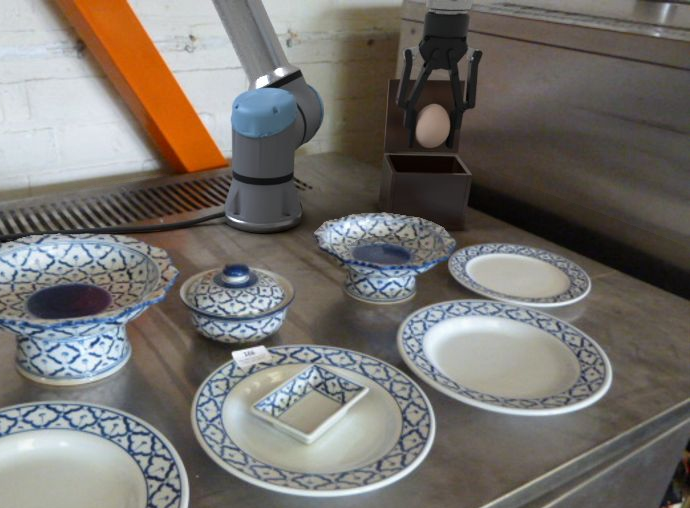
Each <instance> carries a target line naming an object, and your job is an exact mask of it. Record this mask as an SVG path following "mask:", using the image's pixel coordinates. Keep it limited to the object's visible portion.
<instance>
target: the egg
mask: <svg viewBox="0 0 690 508" xmlns="http://www.w3.org/2000/svg"><path fill="white" fill-rule="evenodd" d="M449 131H450V119H449V116H448V114H447V112H446V110H445V109H444V108H443V107H442V106H440V105H437V104H431V105H428V106H426V107H425V108H423V109H422V110H421V111H420V112H419V114H418V116H417V119H416V127H415V134H414V136H415V139H416V140H417V142H418V143H419V144H420V145H422V146H423V147H426V148H434V147H437V146H439V145H440V144H442V143H443V142H444V141H445V140H446V138H447V137H448V135H449Z"/></svg>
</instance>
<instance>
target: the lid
mask: <svg viewBox="0 0 690 508" xmlns="http://www.w3.org/2000/svg"><path fill="white" fill-rule="evenodd" d="M416 80H417V78H416V79H413V78H410V80H409V85H408V89H407V94H406V99H405V100H406V101H407V99H408V97H409V95H410V93H411V91H412V89H413V86H414V84H415V82H416ZM387 83H388V86H387V99H386V115H385V127H384V128H385V129H384V143H383V151H384V152H403V153H405V152H410V153H443V154H444V153H447V154H448V153H451V154H453V153H454V154H458V153H459V152H460V151H459V149H460V140H461V129H462V127H461V128H460V130H459V129H455V134H454V141H453V147H452V149H448V148H447V146H446V145H445V143H446V140H445V141H444V142H443V143H442V144H440V145H439V146H437V147H434V148H426V147H423V146H422V145H420V144H419V143H418V142H417V140H416V139H415V136H414V142H413V148H409V147H408V145H407V136H408V128H405V127H404V124H403V123H404V114H405V109H404V108H401V107H398V105H397V104H396V98H397V93H398V88H399V83H400V78H389V79H388V82H387ZM460 85H461V90H462V96H463V101H465V100H464V98H465V89H466V88H465V87H466V80H461V79H460ZM431 104H437V105H440V106H442V107H443V108H444V109H445V110H446V112H447V114H448V116H450V110H451V109H454V110H455V104H454V98H453V93H452V88H451V82H450V79H427V81H426V84H425V86H424V88H423V90H422V92H421V94H420V96H419V98H418V101H417V103H416V105H415V107H414V109H415V110H416V111H417V116H418V114H419V112H420V111H421V110H422V109H423V108H425V107H426V106H428V105H431Z"/></svg>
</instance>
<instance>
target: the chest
mask: <svg viewBox="0 0 690 508" xmlns="http://www.w3.org/2000/svg"><path fill="white" fill-rule="evenodd" d="M381 167H382V168H381V176H380V177H381V178H380V186H379V194H378V195H379V196H378V204H377V205H378V209H379V212H380V213H381V212H386V213H393V214H400V215H406V216H414V217H420V218H423V219H426V220H428V221H432V222H434V223H436V224H438V225H440V226H442V227H444V228H445V229H446V230H445V231H463V230H464V225H465V220H466V215H467V210H468V204H469V198H470V192H471V186H472V181H473V174H472V172H471V171H470V170H469V168H468V167H467V165H466V163H464V162H463V160H462V159H461V158H460V157H459V155H458V154H430V153H429V154H425V153H389V152H388V153H387V152H386V153H383V158H382V166H381Z"/></svg>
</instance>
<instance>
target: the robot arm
mask: <svg viewBox="0 0 690 508" xmlns="http://www.w3.org/2000/svg"><path fill="white" fill-rule="evenodd" d="M210 1H211V3H212V5H213V7H214V9H215V12H216V14H217V16H218V18H219V20H220V22H221V24H222V27H223V28H224V31H225V33H226V35H227V37H228V39H229V41H230V44H231V46H232V48H233V51H234V53H235V55H236V56H237V59H238V61H239V63H240V66H241V68H242V70H243V72H244V74H245V76H246V78H247V80H248V88H247V90H246V91H244V92H241V93H240V94H238V95H237V96H236V97H235V98H234V100H233V102H232V105H231V115H230V125H231V160H232V161H231V164H232V165H231V166H232V167H231V168H232V169H231V171H232V178H231V179H232V180H231V183H230V186H229V190H228V193H227V196H226V199H225V201H224V205H223V208H222V210H223V211H221V212H217V213H212V214H209V215H206V216H202V217H199V218H195V219H190V220H189V219H188V220H184V221H179V222H171V223H164V224H152V225H134V226H133V225H132V226H131V225H129V226H110V227H109V226H108V227H88V228H72V229H71V228H69V229H53V230H43V231H42V230H41V231H28V232H19V233H18V232H17V233H8V234H6V233H5V234H0V241H8V240H19V239H18V238H20V239H23V238H22V237H26V236H30V235H43V234H58V233H63V234H72V235H86V234H85V233H90V234H109V233H110V234H111V233H133V232H150V231H162V230H170V229H178V228H183V227H189V226H194V225H198V224H201V223H205V222H209V221H213V220H216V219H220V218H223V221H224V222H225V224H227V226H230V227H231V228H234V229H236V230H240V231H243V232H249V233H256V234H257V233H258V234H266V233H267V234H269V233H271V234H272V233H278V232H283V231H288V230H291V229H293V228H295V227H297V226H298V225H299V224H300V223H301V221H302V219H303V218H302V217H303V216H302V214H303V206H302V203H301V201H300V199H299V194H298V191H297V188H296V184H295V177H294V176H295V157H296V156H295V155H296V154H295V153H296V151H297V150H298V149H299V148H300V147H301V146H303V145H305V144H307V143H309V142H310V141H311V140H312V139H313V138H315V136H316V135H317V133H318V132H319V130H320V129H321V126H322V124H323V121H324V116H325V106H324V101H323V99H322V97H321V95H320V93H319V92H318V91H317V89H315V87H314V86H312V85H311V84H308V83H307V81H306V78H305V76H304V74H303V72H302V70H301V68H300V67H299V66H296V65H295V64H291V63H290V62H289V59H288V58H287V55H286V53H285V51H284V49H283V46H282V44H281V41H280V39H279V37H278V35H277V33H276V30H275V28H274V26H273V24H272V21H271V19H270V16H269V15H268V12H267V10H266V7H265V6H264V3H263V1H262V0H210ZM472 5H473V0H426V3H425V7H426V9H427V10H428V11H427V12H426V13H425V14H424V18H423V28H422V36H421V40H420V42H419V43H418V45H416V46H412V47H407V46H405V47H404V48H403V49H402V57H403V64H402V69H401V74H400V78H399V79H400V83H399V88H398V93H397V98H396V104H397V105H398V107H401V108H404V109H405V114H404V123H403V124H404V127H405V128H408V136H407V145H408V147H409V148H413V142H414V134H415V127H416V119H417V111H416V110H415V109H414V107H415V105H416V103H417V101H418V98H419V96H420V94H421V92H422V90H423V88H424V86H425V84H426V81H427V80H429V77H430V76H431V75H432V73H433V71H437V70H445V71H447V72H448V76H449V80H450V82H451V88H452V93H453V98H454V104H455V110H454V109H451V110H450V116H449V119H450V131H449V135H448V137H447V138H446V143H445V145H446V146H447V148H448V149H452V147H453V141H454V134H455V129H459V130H460V128H461V129H462V123H463V118H464V113H465V112H466V111H468V110H473V109H474V108H475V107H476V103H477V102H476V101H477V89H478V88H477V87H478V75H479V73H478V72H479V64H480V62H481V59H482V57H483V51H482V50H480V49H479V48H472V47H469V45H468V42H467V39H468V33H469V26H470V19H471V15H470V13H468V11H470V10H471V9H472ZM418 54H420V56H421V58H422V60H423V64H422V66H421V68H420V71H419V74H418V76H417V78H416V79H417V80H416V82H415V84H414V86H413V89H412V91H411V93H410V95H409V97H408V99H407V101H406V100H405V99H406V94H407V89H408V85H409V80H410V79H411V74H412V70H413V65H414V64H413V62H414V61H415V60H416V59H417V55H418ZM465 55H466V60H467V61H468V62H467V72H466V73H467V74H466V86H465V87H466V88H465V89H466V90H465V100H463V96H462V90H461V85H460V80H461V79H460V71H459V66H458V63H459V62H460V61H461V60H462V58H463V57H464V56H465ZM460 131H461V130H460Z"/></svg>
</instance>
